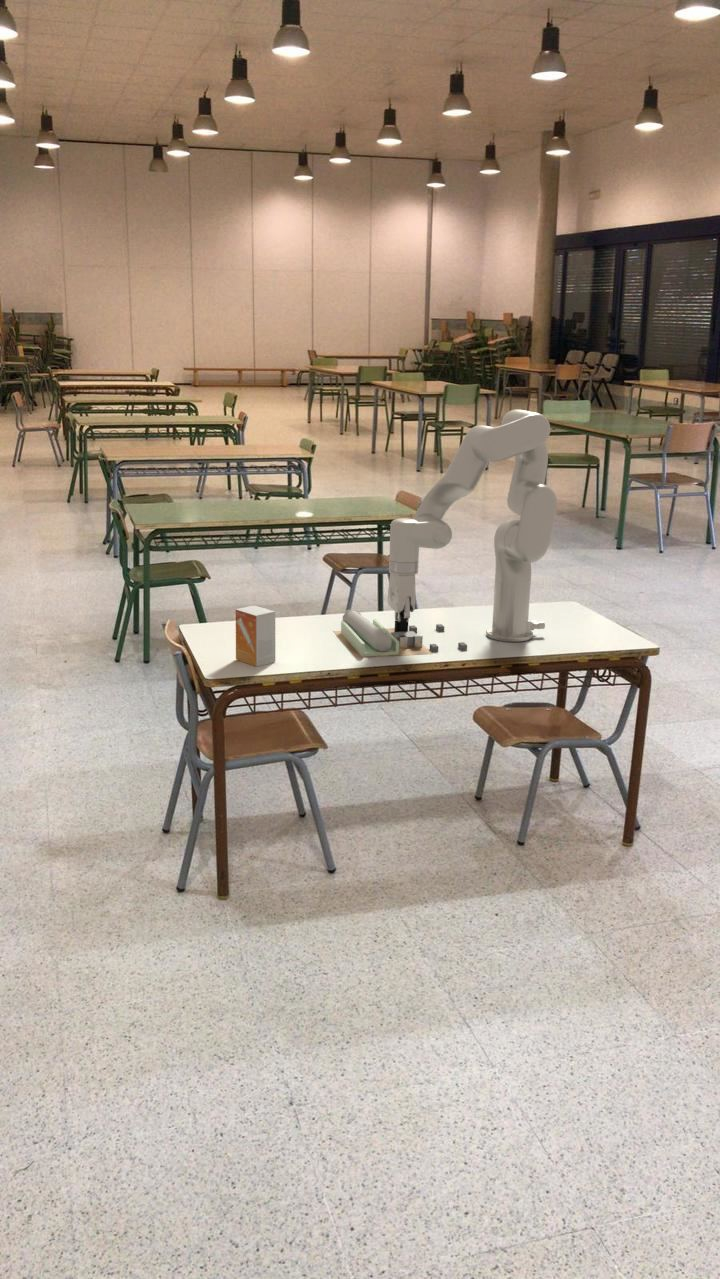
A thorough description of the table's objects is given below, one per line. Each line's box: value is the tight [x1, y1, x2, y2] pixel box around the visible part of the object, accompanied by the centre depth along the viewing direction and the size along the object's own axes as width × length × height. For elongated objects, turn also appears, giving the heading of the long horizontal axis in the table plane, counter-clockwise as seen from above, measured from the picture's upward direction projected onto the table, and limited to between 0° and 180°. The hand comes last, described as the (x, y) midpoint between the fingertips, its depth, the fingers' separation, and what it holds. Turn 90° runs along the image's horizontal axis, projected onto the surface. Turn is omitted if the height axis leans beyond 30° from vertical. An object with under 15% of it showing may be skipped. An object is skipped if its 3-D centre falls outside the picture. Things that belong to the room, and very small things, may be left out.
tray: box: [340, 619, 399, 657], centre depth 280 cm, size 10×22×3 cm, turn 14°
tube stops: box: [408, 623, 468, 653], centre depth 285 cm, size 9×20×2 cm, turn 14°
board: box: [332, 627, 434, 659], centre depth 282 cm, size 20×25×1 cm
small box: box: [235, 605, 276, 668], centre depth 266 cm, size 8×6×13 cm
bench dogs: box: [398, 634, 424, 649], centre depth 277 cm, size 6×2×3 cm, turn 105°
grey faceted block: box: [391, 630, 418, 646], centre depth 280 cm, size 6×5×2 cm
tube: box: [342, 609, 392, 652], centre depth 279 cm, size 5×5×25 cm
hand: (401, 635), depth 284 cm, fingers closed
